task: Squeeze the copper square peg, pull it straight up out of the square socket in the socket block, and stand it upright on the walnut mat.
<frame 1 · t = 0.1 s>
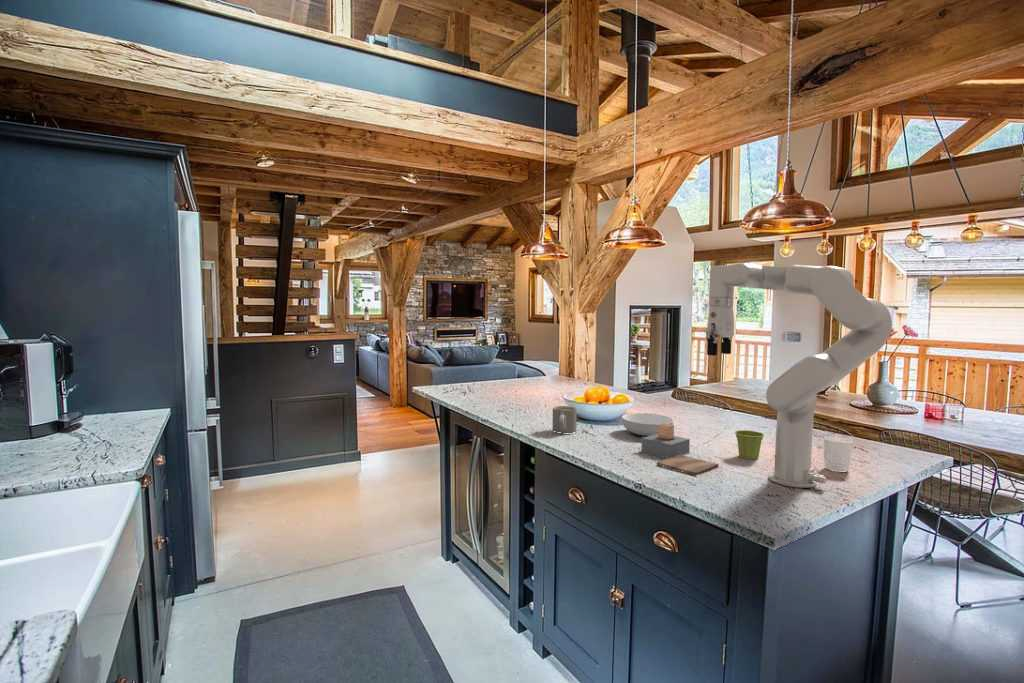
hand: (719, 354, 168), 37 cm above the counter, tool pointing down, fingers open, 9 cm apart
copper peg: (665, 438, 182), in the socket block
walnut mat: (687, 466, 166), on the counter
serving bowl: (646, 434, 209), on the counter
plant pot: (748, 458, 177), on the counter
white cup: (836, 470, 164), on the counter
socket block: (665, 452, 182), on the counter
coffee mug: (562, 432, 211), on the counter
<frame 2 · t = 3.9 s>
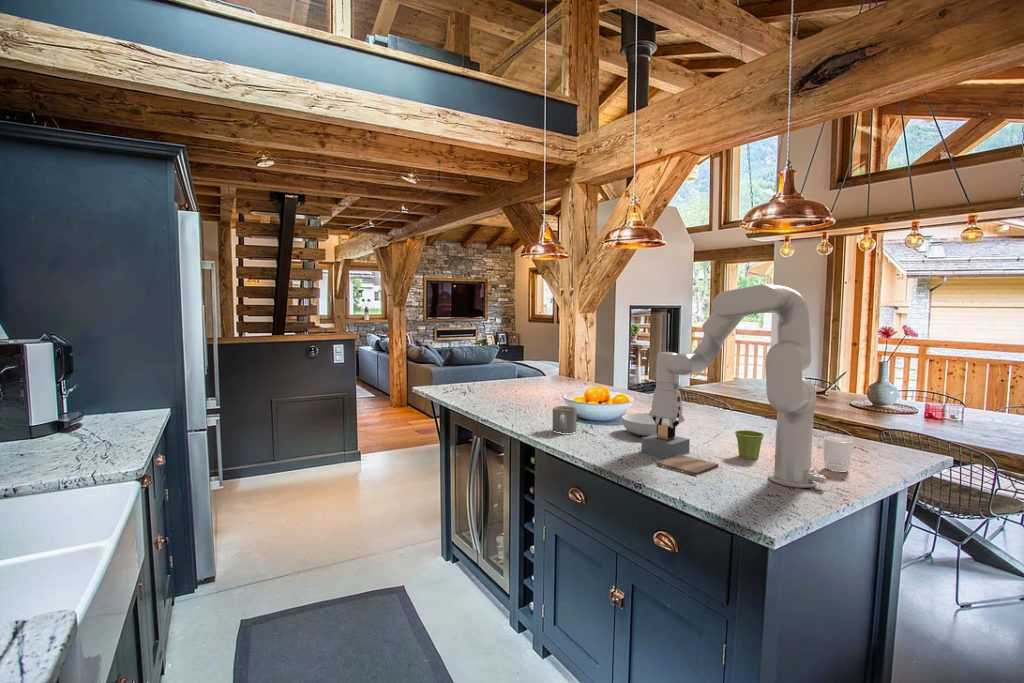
hand: (665, 436, 182), 6 cm above the counter, tool pointing down, fingers closed on copper peg, 4 cm apart
copper peg: (665, 438, 182), in the socket block, touching gripper
everything else where it was.
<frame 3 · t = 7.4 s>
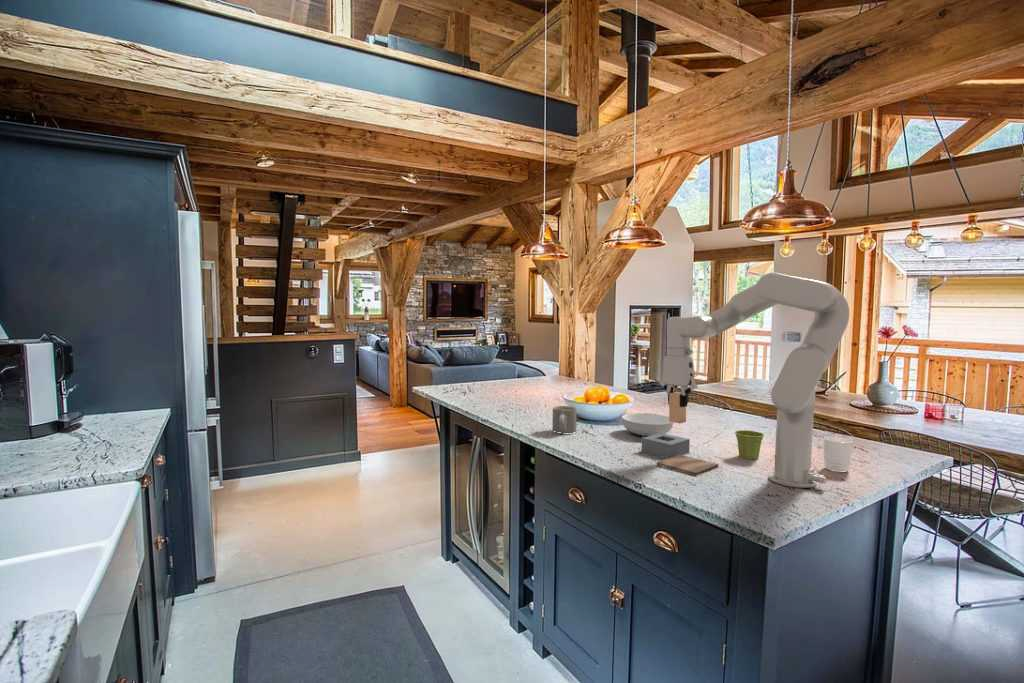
hand: (677, 405, 174), 19 cm above the counter, tool pointing down, fingers closed on copper peg, 4 cm apart
copper peg: (677, 407, 174), point 18 cm above the counter, touching gripper
everything else where it was.
when the fingers open (8 cm above the counter, at t = 10.9 s): copper peg stays where it is, resting on walnut mat.
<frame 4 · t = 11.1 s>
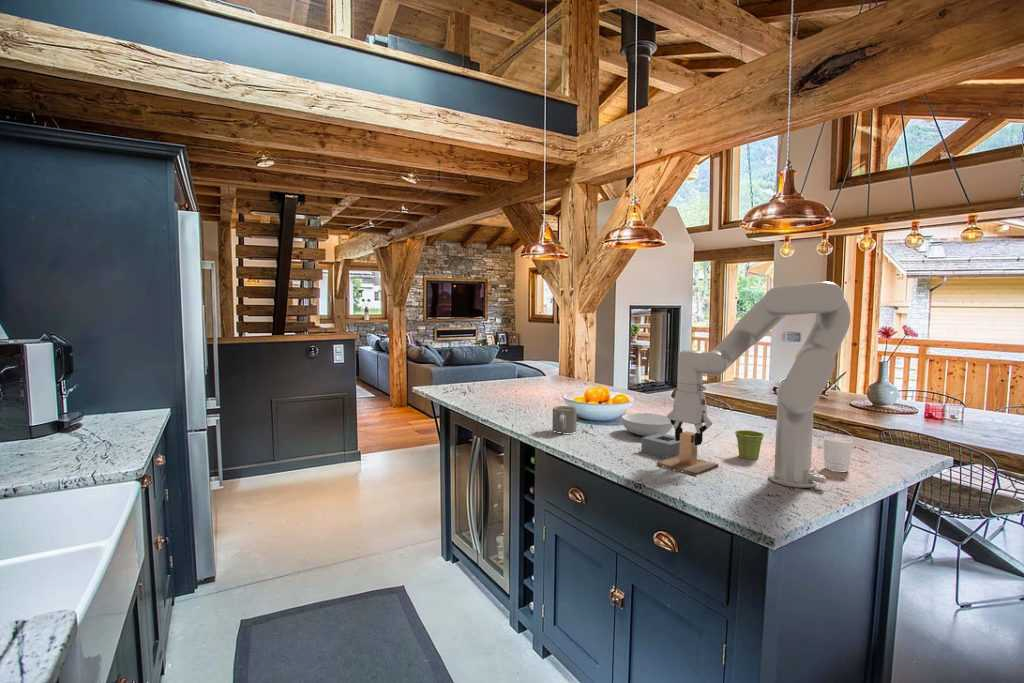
hand: (688, 441, 166), 8 cm above the counter, tool pointing down, fingers open, 6 cm apart
copper peg: (688, 448, 166), on the walnut mat, point 6 cm above the counter
everything else where it was.
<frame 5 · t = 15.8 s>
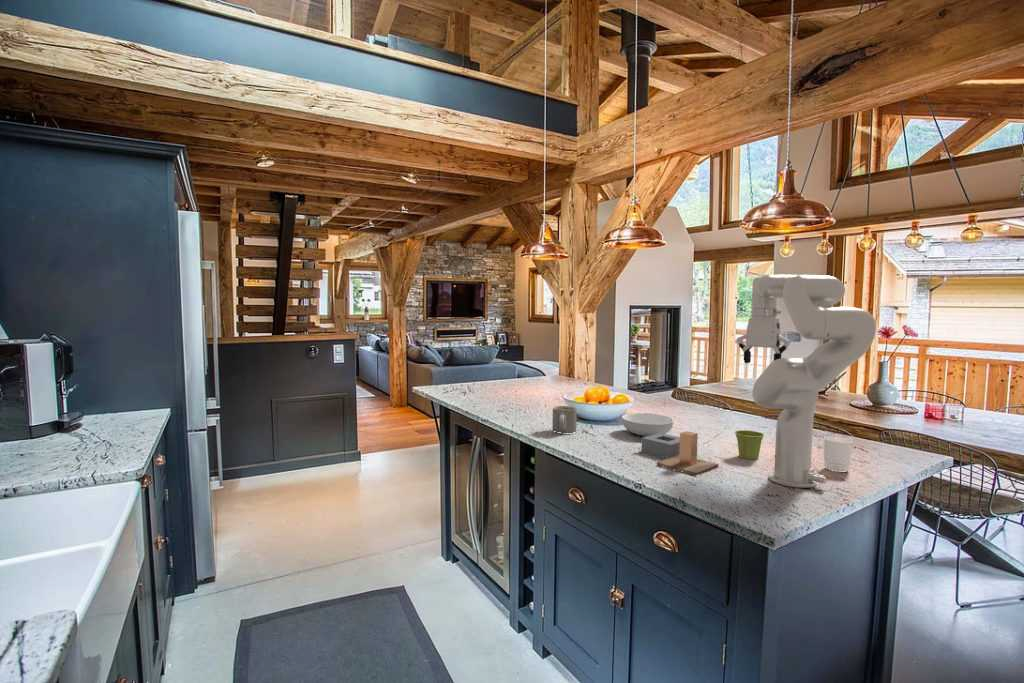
hand: (761, 364, 171), 33 cm above the counter, tool pointing down, fingers open, 9 cm apart
nothing on the counter moved.
at the end: copper peg inside the target area on the walnut mat (0.1 cm from its centre), point 6.0 cm above the walnut mat's base; copper peg tilted 0°; the gripper is holding nothing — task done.
